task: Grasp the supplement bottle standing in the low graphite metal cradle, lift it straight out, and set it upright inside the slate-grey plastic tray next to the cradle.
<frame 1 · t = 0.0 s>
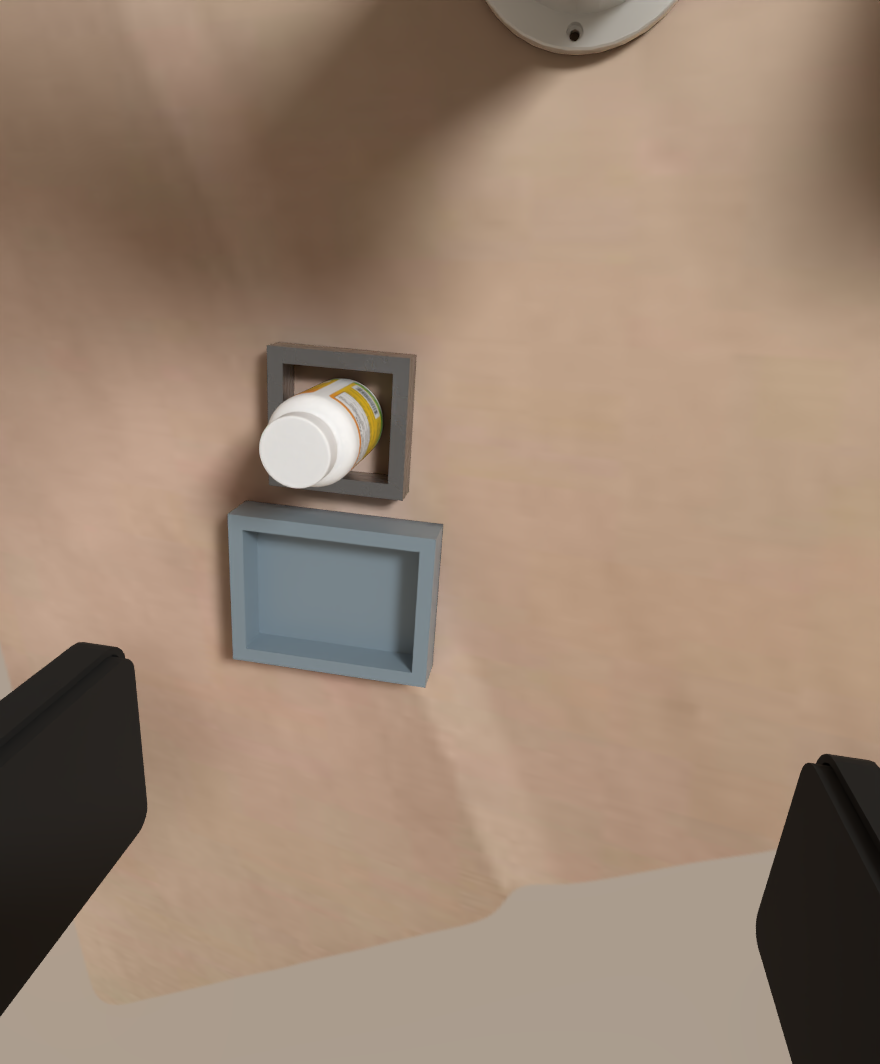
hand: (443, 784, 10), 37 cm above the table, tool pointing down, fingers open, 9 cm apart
cradle: (345, 418, 47), on the table
supplement bottle: (346, 418, 47), resting in cradle
tray: (341, 584, 51), on the table
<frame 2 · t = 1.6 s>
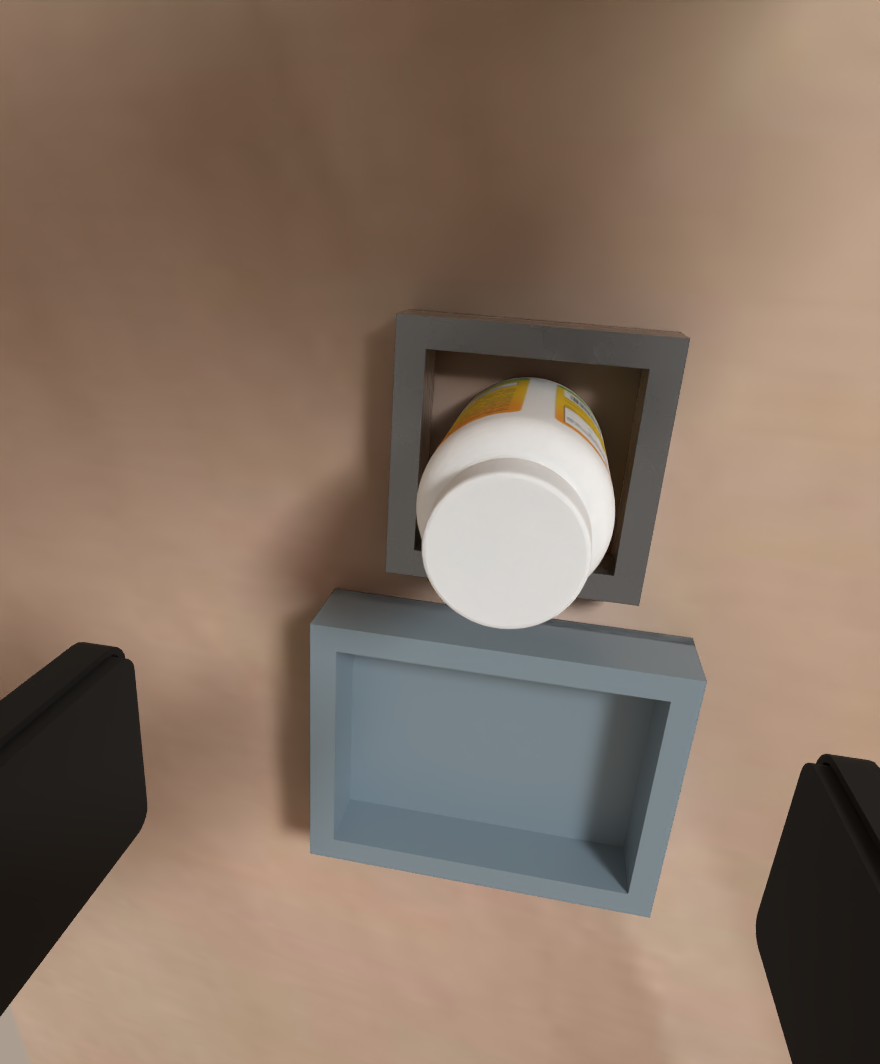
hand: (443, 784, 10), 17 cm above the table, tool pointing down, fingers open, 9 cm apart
cradle: (526, 451, 25), on the table
supplement bottle: (526, 449, 26), resting in cradle
tray: (494, 728, 30), on the table
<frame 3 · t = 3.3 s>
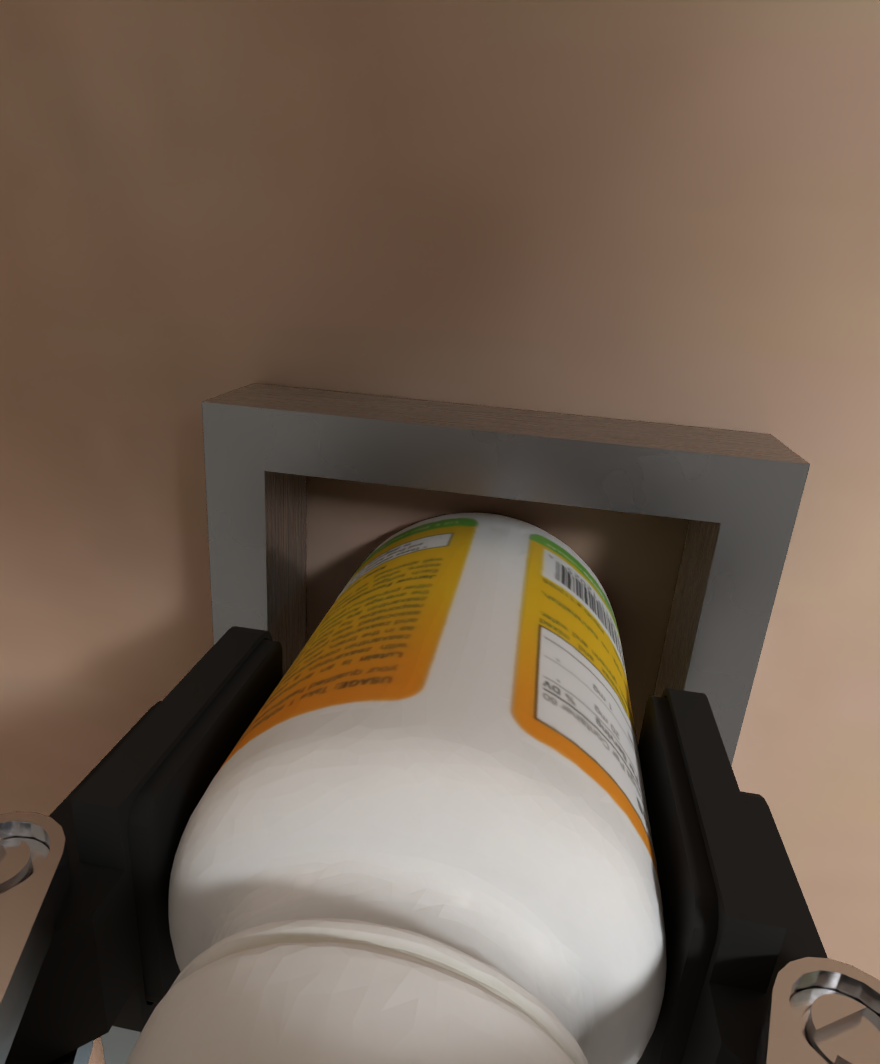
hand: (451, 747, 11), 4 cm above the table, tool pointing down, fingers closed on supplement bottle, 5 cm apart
cradle: (477, 636, 14), on the table
supplement bottle: (478, 631, 14), resting in cradle, touching gripper
tray: (436, 1050, 18), on the table
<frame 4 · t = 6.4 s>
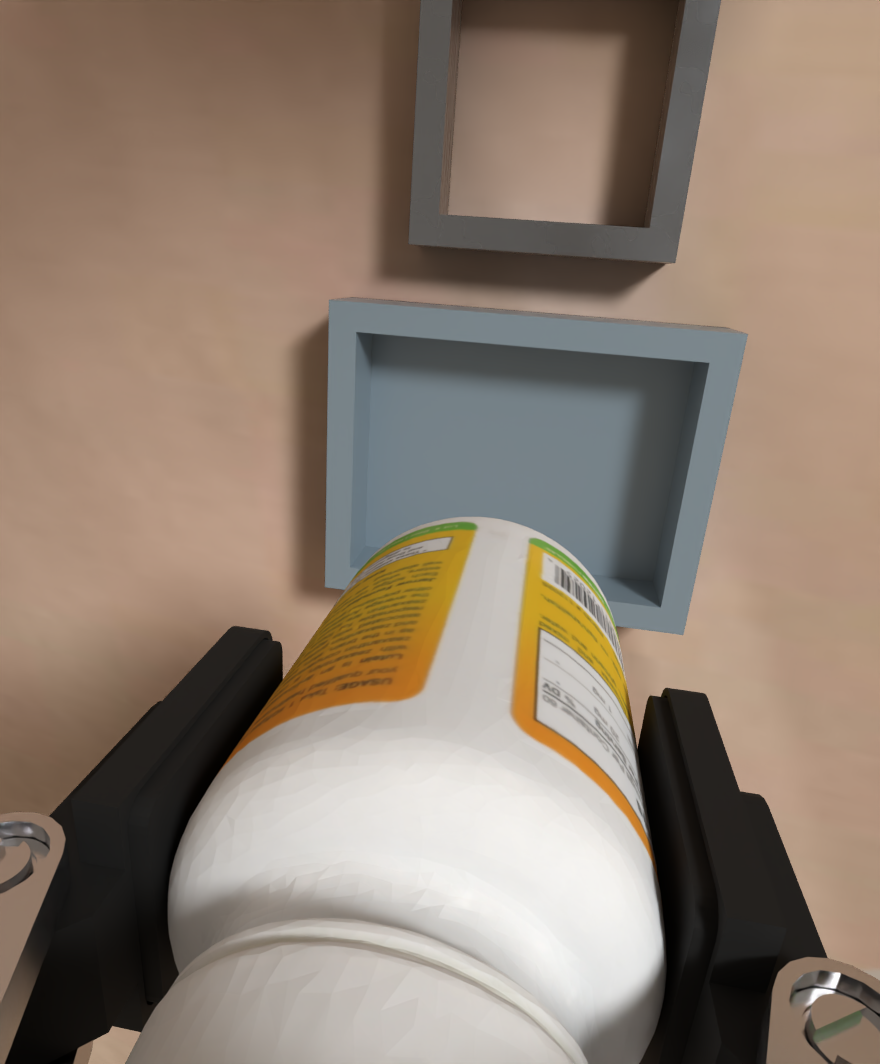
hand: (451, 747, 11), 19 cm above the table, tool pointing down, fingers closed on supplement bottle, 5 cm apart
cradle: (555, 114, 24), on the table
supplement bottle: (478, 635, 14), point 15 cm above the table, touching gripper
tray: (517, 454, 28), on the table
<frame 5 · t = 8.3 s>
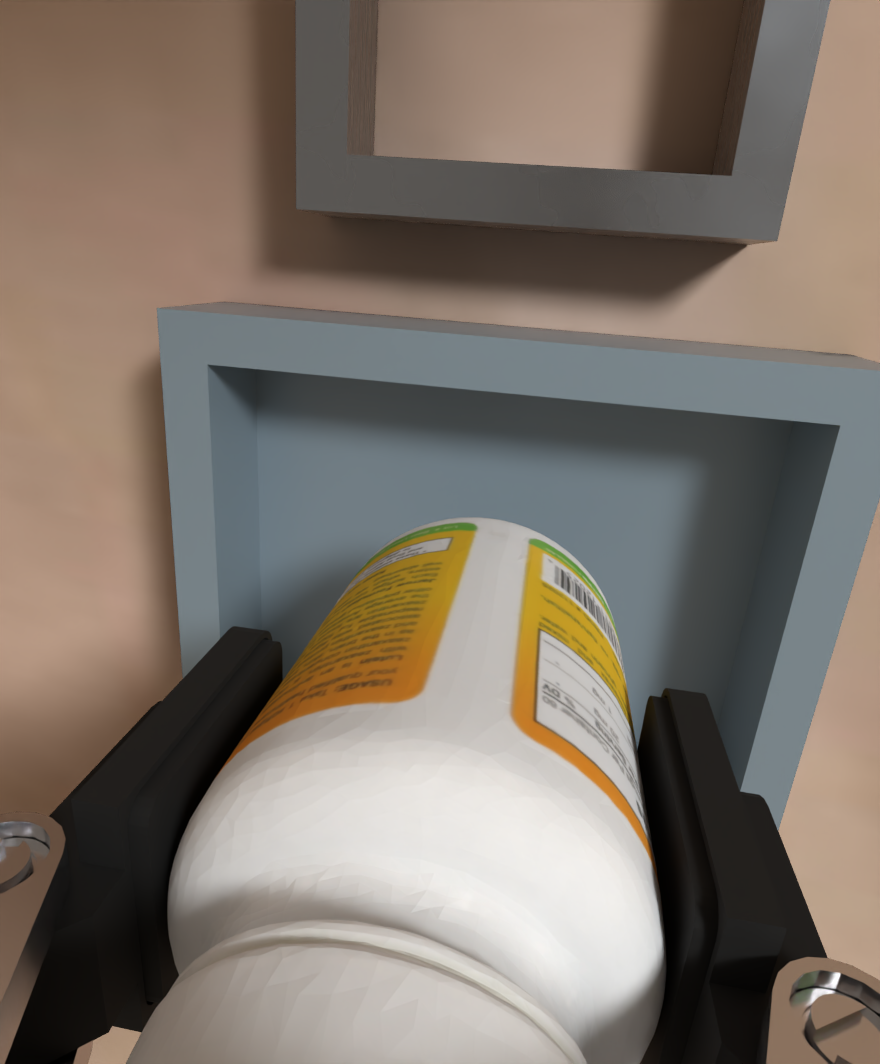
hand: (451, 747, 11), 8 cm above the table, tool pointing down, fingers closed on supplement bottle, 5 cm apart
supplement bottle: (478, 636, 14), point 4 cm above the table, touching gripper
tray: (496, 553, 18), on the table
when the fingers open (5 cm above the table, at t = 9.7 s): supplement bottle drops 1 cm, resting on tray.
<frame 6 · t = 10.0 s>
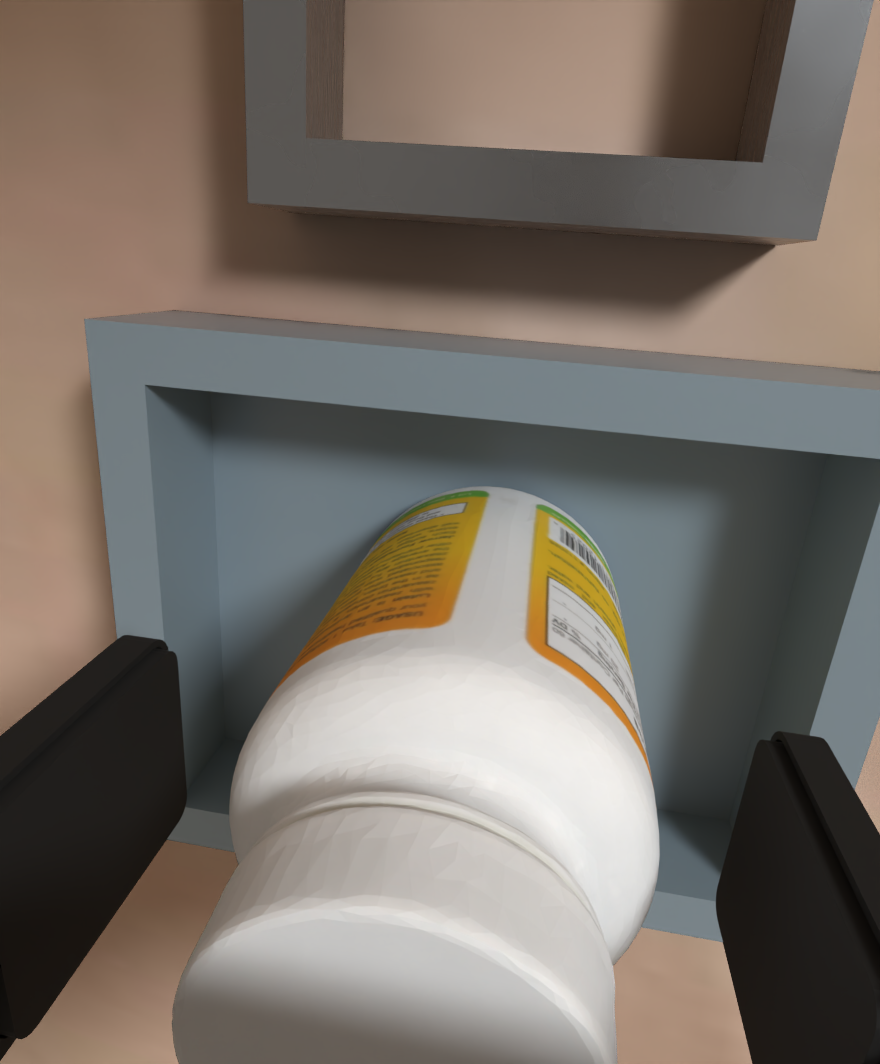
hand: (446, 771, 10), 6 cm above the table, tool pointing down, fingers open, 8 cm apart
supplement bottle: (488, 598, 15), resting on tray
tray: (486, 594, 16), on the table
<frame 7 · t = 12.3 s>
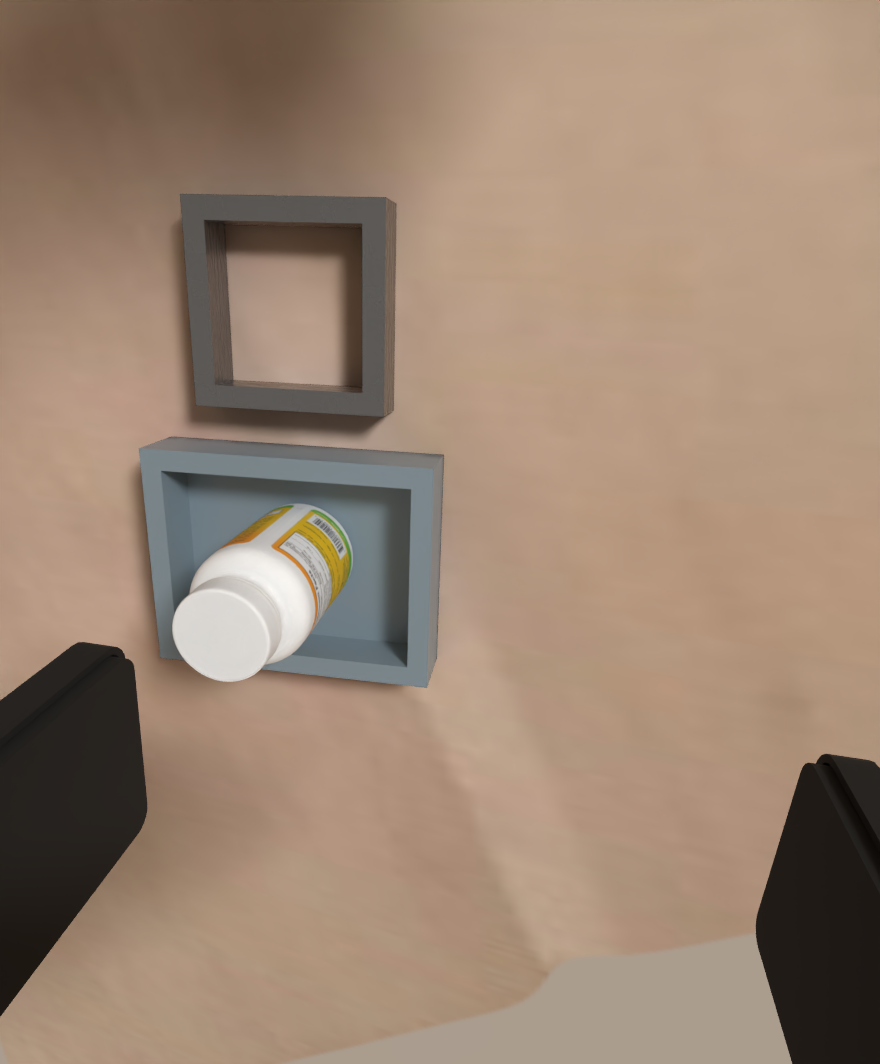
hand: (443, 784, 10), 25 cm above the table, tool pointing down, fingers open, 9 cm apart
cradle: (300, 307, 33), on the table
supplement bottle: (305, 550, 36), resting on tray
tray: (306, 550, 37), on the table
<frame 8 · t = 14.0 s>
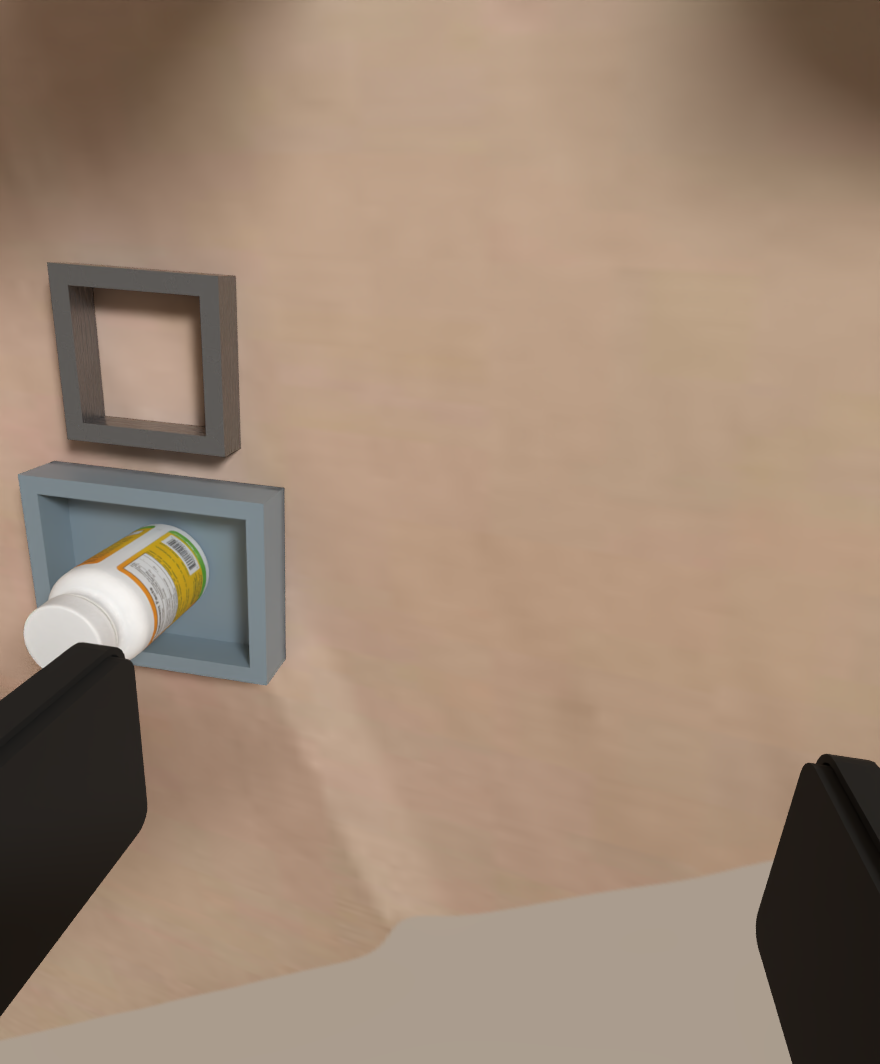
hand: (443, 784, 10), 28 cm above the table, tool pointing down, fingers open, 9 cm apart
cradle: (158, 358, 38), on the table
supplement bottle: (170, 563, 42), resting on tray
tray: (172, 562, 42), on the table
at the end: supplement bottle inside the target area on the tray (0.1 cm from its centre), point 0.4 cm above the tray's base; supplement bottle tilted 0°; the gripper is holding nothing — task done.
